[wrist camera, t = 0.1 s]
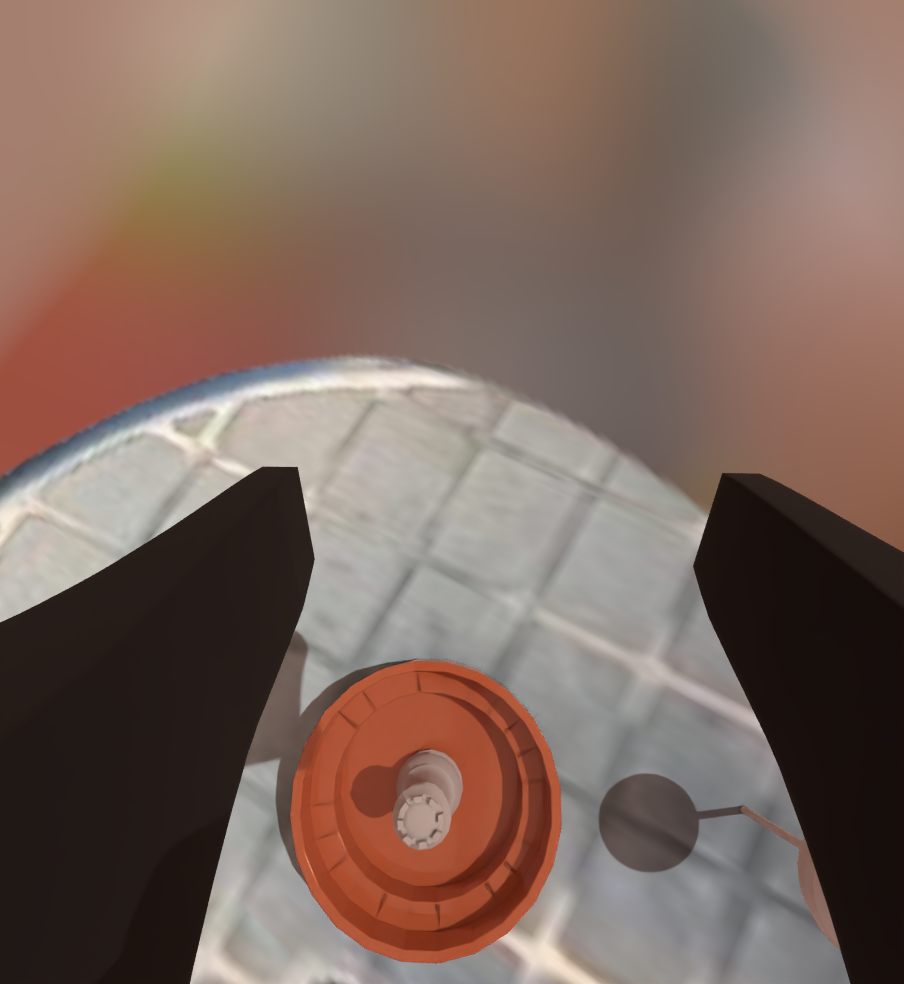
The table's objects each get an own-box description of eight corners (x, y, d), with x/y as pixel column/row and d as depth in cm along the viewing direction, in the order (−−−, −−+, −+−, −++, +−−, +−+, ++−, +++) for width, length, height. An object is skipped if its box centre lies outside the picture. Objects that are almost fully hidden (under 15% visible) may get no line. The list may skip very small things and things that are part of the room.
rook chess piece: (383, 780, 37) (362, 817, 29) (433, 733, 38) (424, 758, 30) (426, 836, 36) (415, 890, 29) (476, 787, 37) (479, 826, 29)
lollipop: (713, 869, 36) (882, 1027, 21) (685, 772, 37) (824, 857, 23) (805, 848, 36) (1034, 991, 21) (773, 752, 37) (967, 824, 23)
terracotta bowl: (552, 925, 35) (565, 969, 31) (301, 915, 36) (277, 956, 31) (547, 661, 39) (558, 665, 35) (323, 655, 40) (304, 658, 35)
